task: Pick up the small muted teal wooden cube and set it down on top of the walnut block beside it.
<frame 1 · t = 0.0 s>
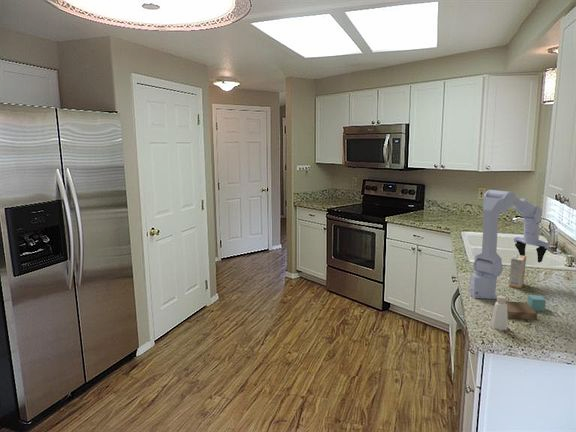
hand: (531, 259, 181), 11 cm above the worktop, tool pointing down, fingers open, 7 cm apart
pepper shaker: (498, 327, 139), on the worktop
teal cube: (535, 308, 154), on the worktop
walnut block: (516, 313, 150), on the worktop
supplement box: (516, 285, 179), on the worktop
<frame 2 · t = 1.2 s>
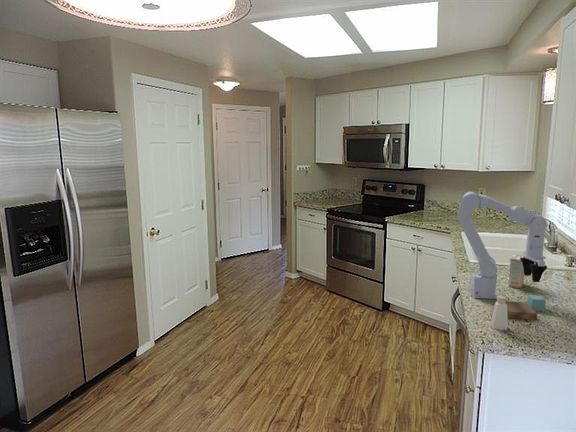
hand: (531, 278, 159), 9 cm above the worktop, tool pointing down, fingers open, 7 cm apart
nothing on the worktop moved.
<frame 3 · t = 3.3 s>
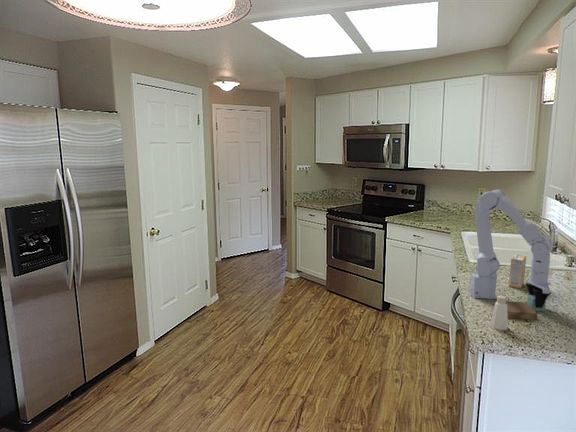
hand: (536, 304, 154), 1 cm above the worktop, tool pointing down, fingers closed on teal cube, 4 cm apart
teal cube: (535, 308, 154), on the worktop, touching gripper
everything else where it was.
when the fingers open (5 cm above the worktop, at t = 7.6 s): teal cube drops 1 cm, resting on walnut block.
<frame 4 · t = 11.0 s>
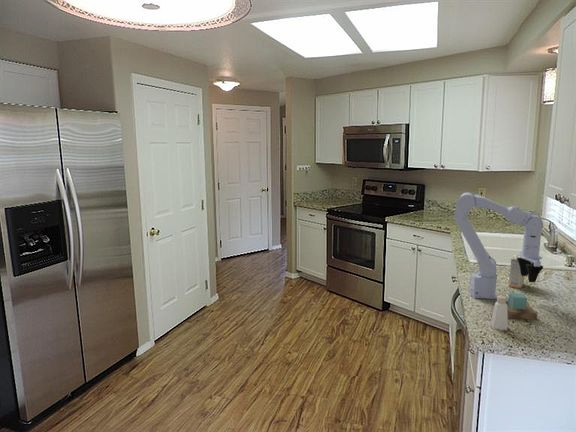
hand: (527, 278, 159), 9 cm above the worktop, tool pointing down, fingers open, 7 cm apart
teal cube: (516, 306, 149), point 2 cm above the worktop, touching walnut block
everything else where it was.
at the end: teal cube 0.0 cm off-centre on the walnut block, point 2.5 cm above the walnut block's base; teal cube tilted 0°; the gripper is holding nothing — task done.
